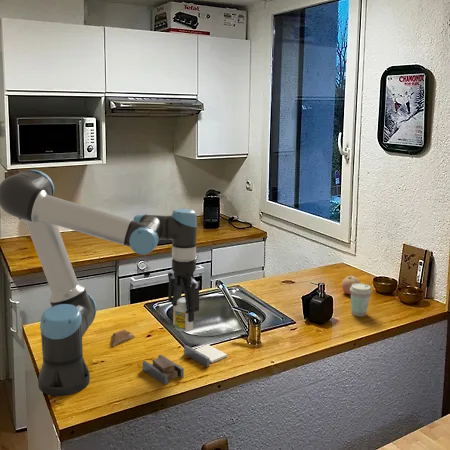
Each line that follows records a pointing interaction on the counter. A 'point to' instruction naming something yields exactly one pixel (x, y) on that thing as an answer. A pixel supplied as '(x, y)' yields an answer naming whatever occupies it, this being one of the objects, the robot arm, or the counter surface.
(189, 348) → the grey cradle
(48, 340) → the robot arm
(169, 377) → the offcut lower
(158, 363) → the offcut upper
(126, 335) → the shard
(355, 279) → the fruit
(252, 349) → the counter surface
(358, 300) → the coffee cup
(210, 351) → the pad
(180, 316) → the supplement bottle
